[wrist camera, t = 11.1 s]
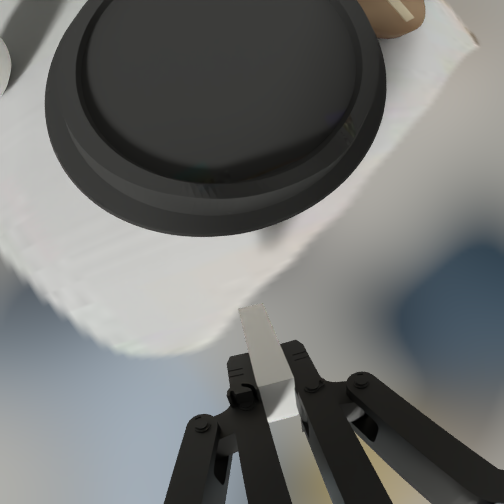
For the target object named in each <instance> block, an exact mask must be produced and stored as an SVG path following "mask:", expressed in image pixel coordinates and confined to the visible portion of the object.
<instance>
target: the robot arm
mask: <svg viewBox="0 0 504 504" xmlns="http://www.w3.org/2000/svg"><path fill="white" fill-rule="evenodd" d="M238 310H239V314H240V318H241V323H242V326H243V331H244V335H245V339H246V343H247V347H248V352H249V353H245V354H240V355H236V356H231V357H230V358H229V360H228V362H227V368H228V376H229V382H230V388H229V390H228V391H227V398H228V400H229V403H230V406H229V408H228V409H227V410H226V411H224V412H223V413H221V414H219V415H216V416H214V417H213V416H211V415H208V414H201V415H197V416H195V417H193V418H192V419H191V420H190V421H189V422H188V424H187V427H186V430H185V433H184V437H183V440H182V443H181V447H180V450H179V454H178V457H177V460H176V464H175V467H174V470H173V474H172V477H171V481H170V484H169V488H168V491H167V494H166V498H165V501H164V504H225V501H226V494H227V488H228V481H229V475H230V468H231V462H232V455H233V453H235V452H237V451H238V452H239V457H240V463H241V468H242V473H243V479H244V484H245V489H246V495H247V499H248V504H292V502H291V499H290V495H289V492H288V489H287V486H286V482H285V479H284V476H283V473H282V469H281V466H280V462H279V459H278V455H277V452H276V449H275V445H274V442H273V438H272V435H271V431H270V428H269V424H268V423H269V422H274V421H277V420H282V419H285V418H288V417H293V416H296V415H298V412H299V414H300V417H301V424H302V431H304V432H305V434H306V437H307V439H308V442H309V444H310V447H311V450H312V452H313V454H314V457H315V460H316V462H317V465H318V467H319V470H320V472H321V475H322V478H323V480H324V482H325V485H326V488H327V490H328V493H329V495H330V498H331V500H332V503H333V504H393V503H392V501H391V499H390V498H389V496H388V494H387V492H386V490H385V488H384V487H383V484H382V483H381V481H380V479H379V477H378V475H377V473H376V471H375V470H374V468H373V466H372V464H371V462H370V460H369V458H368V457H367V455H366V453H365V451H364V449H363V447H362V446H361V444H360V442H359V440H358V438H357V436H356V434H357V435H358V436H359V437H360V438H361V439H362V440H364V441H365V442H366V444H368V445H369V446H370V447H371V448H372V449H373V450H374V451H375V452H376V453H377V454H378V455H379V456H380V457H381V458H382V459H383V460H384V461H385V462H386V463H387V464H388V465H389V466H390V467H391V468H393V469H394V470H395V471H396V472H397V473H398V474H399V475H400V476H401V477H402V478H403V479H404V480H405V481H407V482H408V483H409V484H410V485H411V486H412V487H413V488H415V489H416V490H417V491H418V492H419V493H420V494H421V495H422V496H423V497H425V498H426V499H427V500H428V501H429V502H430V503H431V504H504V470H500V469H497V468H496V467H495V466H493V465H492V464H490V463H489V462H488V461H486V460H485V459H483V458H482V457H481V456H479V455H478V454H477V453H475V452H474V451H472V450H471V449H470V448H468V447H467V446H466V445H464V444H463V443H461V442H460V441H459V440H457V439H456V438H454V437H453V436H452V435H451V434H449V433H448V432H447V431H445V430H444V429H443V428H441V427H440V426H438V425H437V424H436V423H435V422H433V421H432V420H431V419H429V418H428V417H427V416H425V415H424V414H422V413H421V412H420V411H419V410H417V409H416V408H415V407H414V406H412V405H411V404H410V403H408V402H407V401H406V400H404V399H403V398H402V397H400V396H399V395H398V394H397V393H395V392H394V391H393V390H391V389H390V388H389V387H388V386H386V385H385V384H384V383H382V382H381V381H380V380H379V379H377V378H376V377H375V376H373V375H372V374H370V373H368V372H357V373H354V374H352V375H351V376H350V377H349V378H348V379H347V381H344V382H329V381H326V380H325V379H323V378H321V377H320V375H319V374H318V372H317V370H316V368H315V367H314V364H313V362H312V361H311V359H310V357H309V355H308V353H307V352H306V349H305V348H304V345H303V344H302V343H300V342H299V341H297V340H293V341H290V342H286V343H282V344H280V343H279V341H278V339H277V336H276V334H275V331H274V329H273V326H272V324H271V322H270V319H269V317H268V314H267V312H266V310H265V307H264V305H263V303H261V304H257V305H252V306H248V307H244V308H239V309H238ZM354 432H355V433H356V434H355V433H354Z"/></svg>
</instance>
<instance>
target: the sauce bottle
mask: <svg viewBox="0 0 504 504" xmlns="http://www.w3.org/2000/svg"><path fill="white" fill-rule="evenodd" d="M10 72H11V58H10V55H9V51H8V48H7V46H6V45H5V43H4V42H3V40H2V39H1V37H0V97H1V96H2V94H3V93H4V91H5V89H6V87H7V85H8V81H9V77H10Z"/></svg>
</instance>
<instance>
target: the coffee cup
mask: <svg viewBox="0 0 504 504" xmlns="http://www.w3.org/2000/svg"><path fill="white" fill-rule="evenodd" d="M385 100H386V71H385V64H384V59H383V55H382V51H381V48H380V45H379V42H378V39H377V37H376V34H375V32H374V30H373V28H372V26H371V24H370V22H369V20H368V18H367V16H366V14H365V12H364V10H363V9H362V7H361V6H360V4H359V3H358V1H357V0H88V1H87V2H86V3H85V5H84V6H83V7H82V9H81V10H80V11H79V13H78V14H77V16H76V17H75V18H74V20H73V21H72V23H71V24H70V26H69V27H68V29H67V30H66V32H65V34H64V35H63V37H62V39H61V41H60V43H59V45H58V47H57V50H56V52H55V54H54V57H53V60H52V63H51V66H50V70H49V74H48V78H47V84H46V91H45V117H46V124H47V130H48V134H49V138H50V141H51V144H52V147H53V150H54V152H55V154H56V156H57V158H58V160H59V162H60V164H61V166H62V168H63V169H64V171H65V172H66V174H67V175H68V177H69V178H70V179H71V180H72V182H73V183H74V184H75V185H76V186H77V187H78V188H79V190H80V191H81V192H82V193H83V194H85V195H86V196H87V197H88V198H89V199H90V200H91V201H93V202H94V203H95V204H97V205H98V206H99V207H101V208H102V209H104V210H105V211H107V212H109V213H110V214H112V215H114V216H116V217H118V218H120V219H122V220H124V221H126V222H128V223H131V224H133V225H136V226H139V227H142V228H145V229H148V230H152V231H156V232H160V233H165V234H171V235H178V236H191V237H214V236H227V235H235V234H241V233H246V232H251V231H255V230H259V229H262V228H265V227H268V226H271V225H274V224H276V223H279V222H282V221H284V220H287V219H289V218H291V217H293V216H295V215H297V214H299V213H301V212H303V211H305V210H307V209H308V208H310V207H312V206H313V205H315V204H316V203H318V202H320V201H321V200H322V199H324V198H325V197H326V196H328V195H329V194H330V193H332V192H333V191H334V190H335V189H336V188H338V187H339V186H340V185H341V184H342V183H343V182H344V181H345V180H346V179H347V178H348V177H349V176H350V175H351V174H352V172H353V171H354V170H355V169H356V168H357V166H358V165H359V164H360V162H361V161H362V160H363V158H364V157H365V155H366V153H367V152H368V150H369V148H370V147H371V145H372V143H373V141H374V139H375V137H376V134H377V132H378V129H379V126H380V123H381V120H382V116H383V112H384V107H385Z"/></svg>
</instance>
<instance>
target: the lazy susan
mask: <svg viewBox="0 0 504 504" xmlns="http://www.w3.org/2000/svg"><path fill="white" fill-rule="evenodd" d="M357 1H358V3H359V4H360V6H361V7H362V9H363V10H364V12H365V14H366V16H367V18H368V20H369V22H370V24H371V26H372V28H373V30H374V32H375V34H376V37H377V38H384V39H390V38H397V37H400V36H402V35H405V34H407V33H409V32H411V31H413V30H415V29H417V28H418V27H420V26H421V24H422V23H423V21H424V18H425V4H424V0H357Z"/></svg>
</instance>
